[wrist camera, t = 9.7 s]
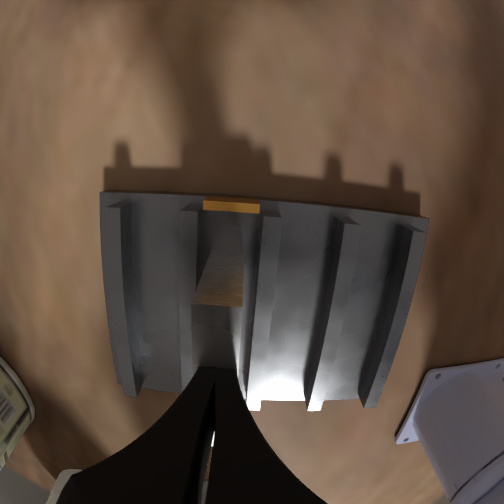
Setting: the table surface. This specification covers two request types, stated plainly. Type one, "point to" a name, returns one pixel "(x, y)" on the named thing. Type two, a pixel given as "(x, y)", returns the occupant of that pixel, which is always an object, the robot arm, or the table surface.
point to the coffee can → (12, 410)
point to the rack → (260, 291)
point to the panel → (218, 312)
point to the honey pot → (60, 485)
